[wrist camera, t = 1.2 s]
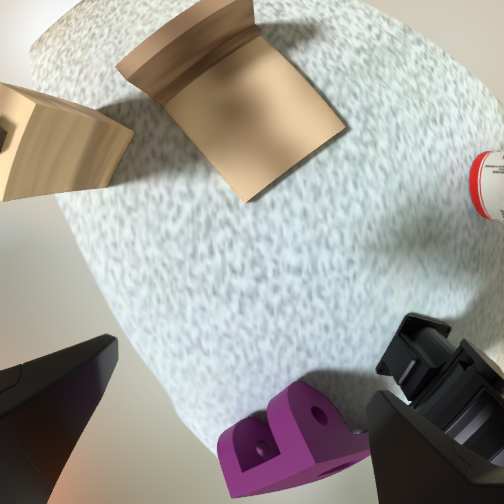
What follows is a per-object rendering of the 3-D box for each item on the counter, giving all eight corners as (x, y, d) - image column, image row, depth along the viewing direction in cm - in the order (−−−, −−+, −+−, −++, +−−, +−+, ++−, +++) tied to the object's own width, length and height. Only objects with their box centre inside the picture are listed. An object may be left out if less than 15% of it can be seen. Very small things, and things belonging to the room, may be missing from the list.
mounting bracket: (362, 392, 30) (275, 375, 21) (392, 440, 24) (316, 463, 14) (310, 429, 32) (208, 424, 23) (333, 475, 26) (231, 498, 16)
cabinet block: (135, 132, 18) (21, 100, 7) (106, 187, 19) (-12, 204, 8) (95, 109, 18) (-13, 79, 6) (69, 161, 19) (-41, 164, 7)
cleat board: (243, 25, 16) (236, -19, 10) (342, 129, 18) (372, 110, 12) (151, 92, 17) (114, 66, 12) (244, 202, 19) (236, 211, 13)
